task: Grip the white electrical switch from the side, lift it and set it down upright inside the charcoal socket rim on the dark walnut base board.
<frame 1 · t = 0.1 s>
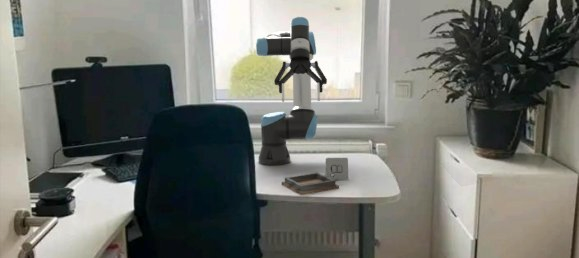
hand: (300, 99, 213), 36 cm above the table, tool tilted 35°, fingers open, 13 cm apart
electrical switch: (336, 179, 235), on the table
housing: (310, 186, 225), on the table
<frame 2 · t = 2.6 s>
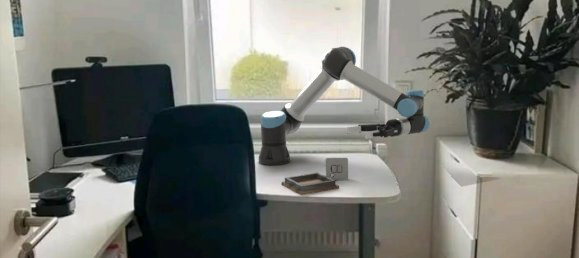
hand: (356, 132, 236), 18 cm above the table, tool horizontal, fingers open, 13 cm apart
nothing on the table moved.
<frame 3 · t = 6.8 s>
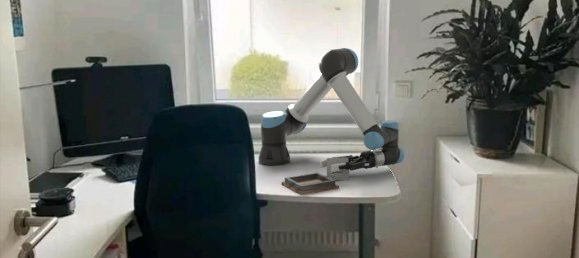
hand: (326, 166, 232), 6 cm above the table, tool horizontal, fingers open, 8 cm apart
electrical switch: (336, 179, 235), on the table, touching gripper
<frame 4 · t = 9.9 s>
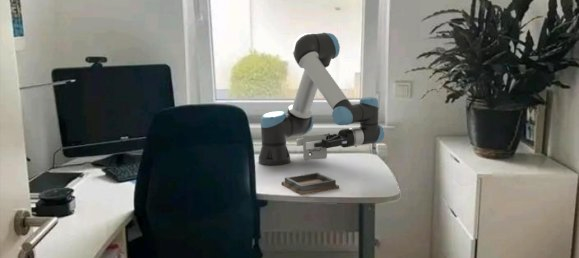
hand: (301, 144, 220), 18 cm above the table, tool horizontal, fingers closed on electrical switch, 7 cm apart
electrical switch: (314, 158, 222), point 12 cm above the table, touching gripper
when the fingers open (8 cm above the table, at t = 12.7 s): electrical switch drops 1 cm, resting on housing.
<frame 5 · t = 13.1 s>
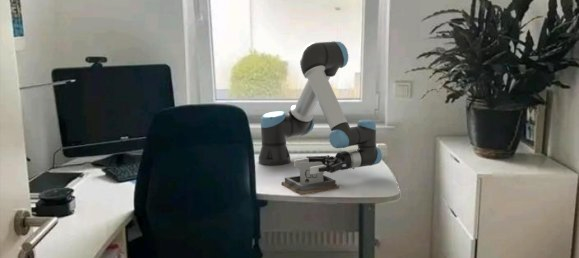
hand: (302, 167, 222), 8 cm above the table, tool horizontal, fingers open, 13 cm apart
electrical switch: (310, 184, 224), point 1 cm above the table, touching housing
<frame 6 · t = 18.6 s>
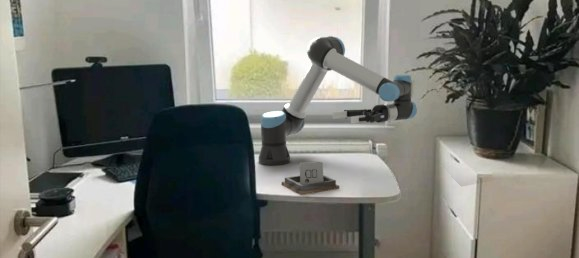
hand: (342, 117, 229), 26 cm above the table, tool horizontal, fingers open, 13 cm apart
nothing on the table moved.
at the end: electrical switch 0.5 cm off-centre on the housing, point 0.8 cm above the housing's base; electrical switch tilted 0°; the gripper is holding nothing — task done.
